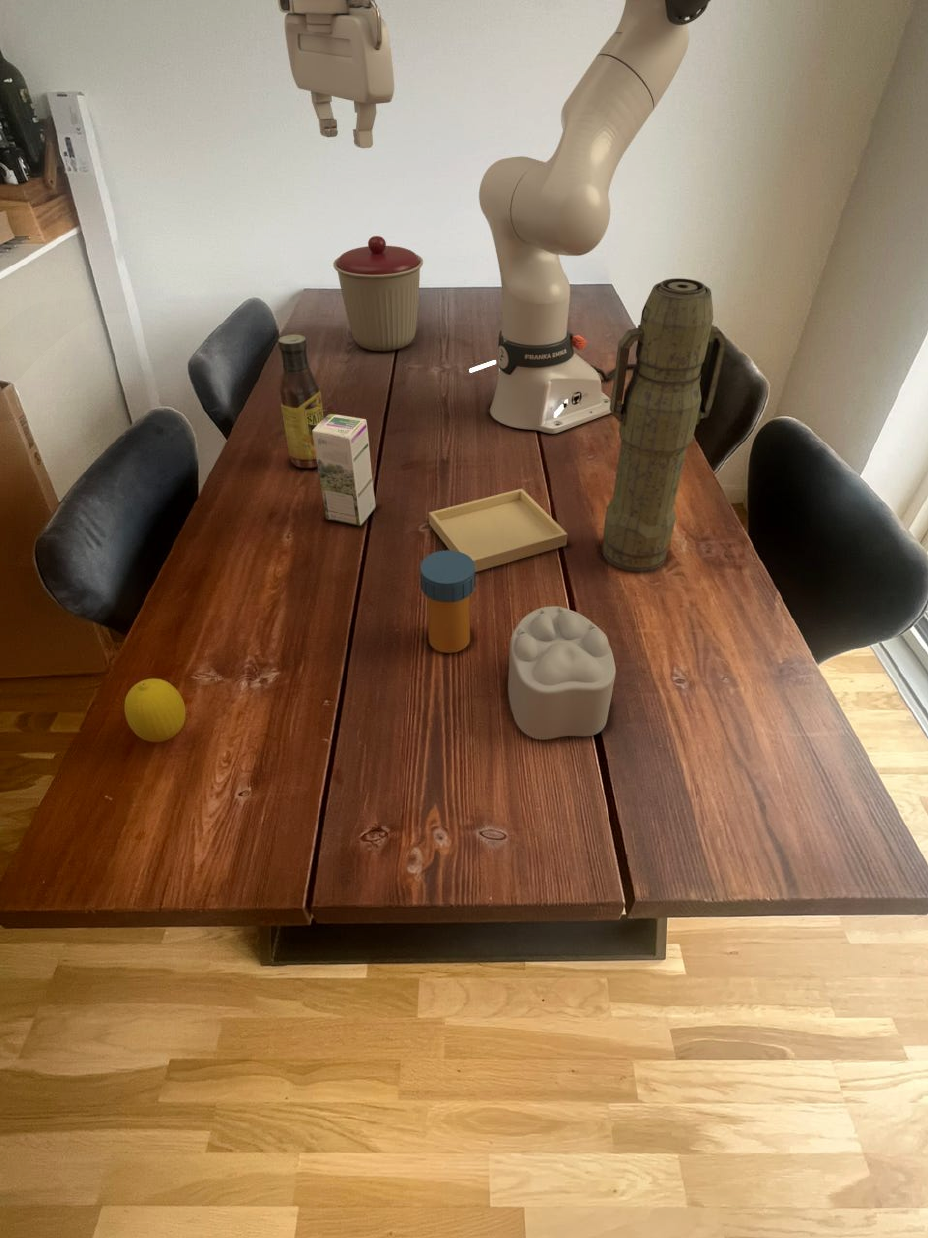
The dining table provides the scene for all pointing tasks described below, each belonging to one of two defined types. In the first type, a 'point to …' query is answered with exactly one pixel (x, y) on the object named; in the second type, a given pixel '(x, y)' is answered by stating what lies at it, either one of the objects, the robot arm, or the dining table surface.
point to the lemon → (154, 710)
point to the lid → (447, 576)
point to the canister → (380, 294)
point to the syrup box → (344, 468)
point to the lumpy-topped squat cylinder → (559, 674)
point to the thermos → (658, 418)
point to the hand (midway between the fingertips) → (346, 141)
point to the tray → (498, 529)
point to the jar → (448, 624)
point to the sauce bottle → (299, 401)
